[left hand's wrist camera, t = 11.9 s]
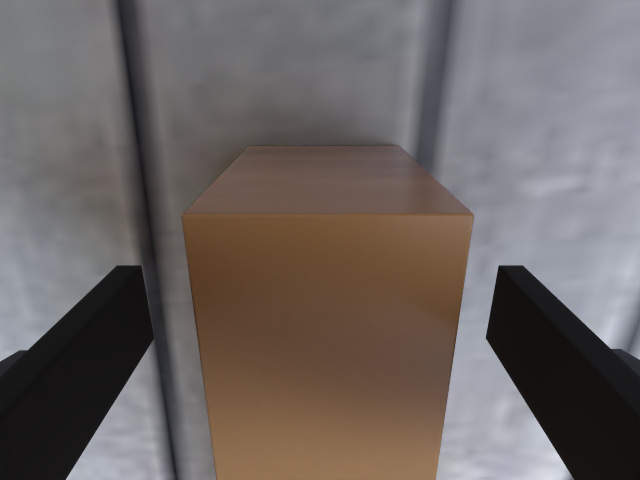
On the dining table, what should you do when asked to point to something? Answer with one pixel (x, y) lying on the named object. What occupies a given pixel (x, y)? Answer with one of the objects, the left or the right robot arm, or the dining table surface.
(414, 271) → the bar
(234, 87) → the dining table surface
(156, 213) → the dining table surface
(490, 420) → the dining table surface
